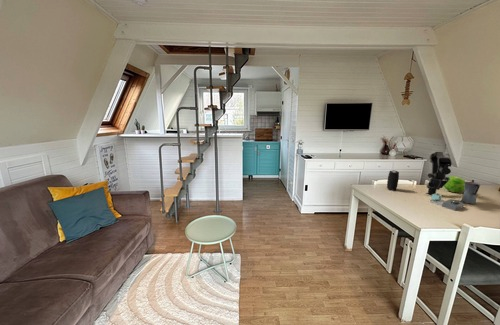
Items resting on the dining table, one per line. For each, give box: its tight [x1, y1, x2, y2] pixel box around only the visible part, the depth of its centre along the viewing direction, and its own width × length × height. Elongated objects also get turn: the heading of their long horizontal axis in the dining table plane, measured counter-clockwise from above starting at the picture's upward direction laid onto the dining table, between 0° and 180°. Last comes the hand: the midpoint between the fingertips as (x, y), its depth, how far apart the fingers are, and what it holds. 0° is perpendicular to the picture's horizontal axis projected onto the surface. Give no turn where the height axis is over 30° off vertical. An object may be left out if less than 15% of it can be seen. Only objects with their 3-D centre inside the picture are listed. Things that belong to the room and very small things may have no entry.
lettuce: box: [443, 176, 466, 193], centre depth 201 cm, size 17×20×15 cm
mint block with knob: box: [430, 192, 443, 200], centre depth 179 cm, size 5×5×6 cm
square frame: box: [429, 198, 464, 211], centre depth 168 cm, size 12×17×6 cm
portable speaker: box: [386, 170, 400, 191], centre depth 205 cm, size 9×9×20 cm
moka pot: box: [460, 179, 481, 205], centre depth 172 cm, size 10×15×20 cm, turn 161°
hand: (438, 188), depth 178 cm, fingers open, 9 cm apart
